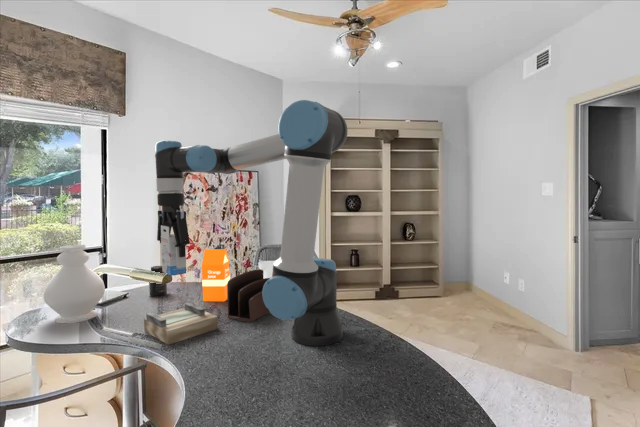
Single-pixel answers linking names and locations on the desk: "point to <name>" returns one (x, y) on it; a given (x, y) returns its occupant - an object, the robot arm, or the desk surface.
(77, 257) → the decorative vase
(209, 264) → the orange juice
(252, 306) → the letter holder
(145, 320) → the box
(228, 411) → the desk surface
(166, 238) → the ink box
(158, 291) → the supplement bottle
